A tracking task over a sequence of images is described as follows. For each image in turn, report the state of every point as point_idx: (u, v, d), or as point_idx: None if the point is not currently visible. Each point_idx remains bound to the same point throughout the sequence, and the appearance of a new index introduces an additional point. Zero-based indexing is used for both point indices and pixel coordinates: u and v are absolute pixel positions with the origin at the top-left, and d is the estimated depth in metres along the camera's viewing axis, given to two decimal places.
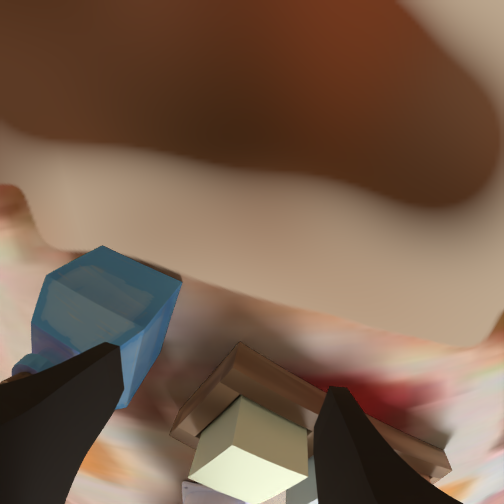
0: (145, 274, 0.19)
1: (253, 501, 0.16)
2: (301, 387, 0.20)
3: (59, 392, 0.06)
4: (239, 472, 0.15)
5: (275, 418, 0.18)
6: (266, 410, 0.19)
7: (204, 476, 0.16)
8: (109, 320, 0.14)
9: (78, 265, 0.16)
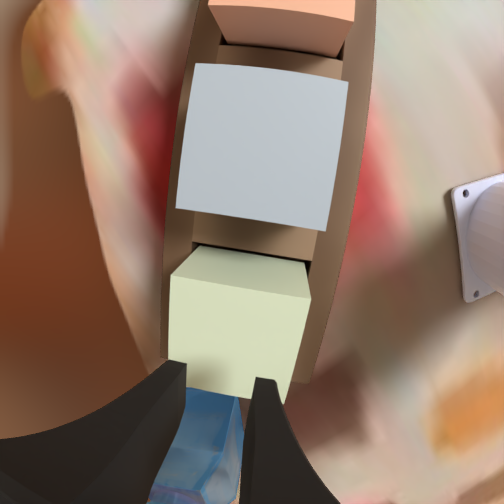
0: None
1: (296, 309, 0.12)
2: None
3: (142, 423, 0.06)
4: (218, 360, 0.13)
5: None
6: None
7: None
8: None
9: None
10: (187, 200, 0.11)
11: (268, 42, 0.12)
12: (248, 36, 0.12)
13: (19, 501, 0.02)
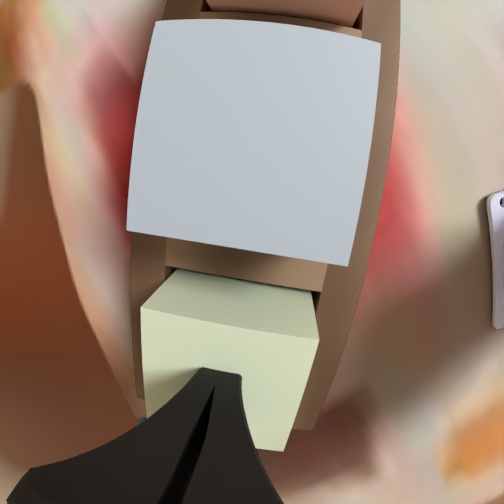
0: None
1: (299, 352, 0.09)
2: None
3: (188, 436, 0.06)
4: None
5: None
6: None
7: (257, 438, 0.10)
8: None
9: None
10: (141, 219, 0.07)
11: (264, 5, 0.09)
12: None
13: None
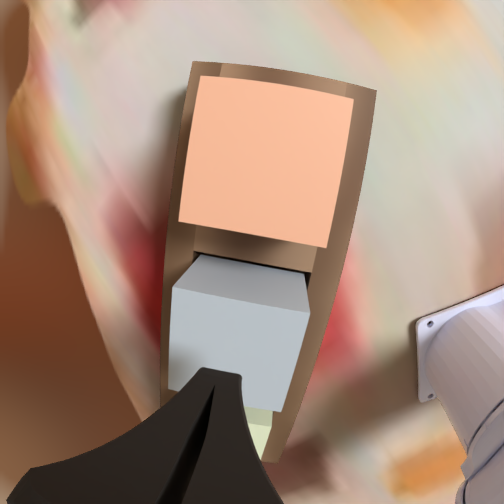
0: None
1: (261, 431, 0.16)
2: None
3: (188, 436, 0.06)
4: None
5: None
6: None
7: None
8: None
9: None
10: (176, 386, 0.13)
11: None
12: None
13: None
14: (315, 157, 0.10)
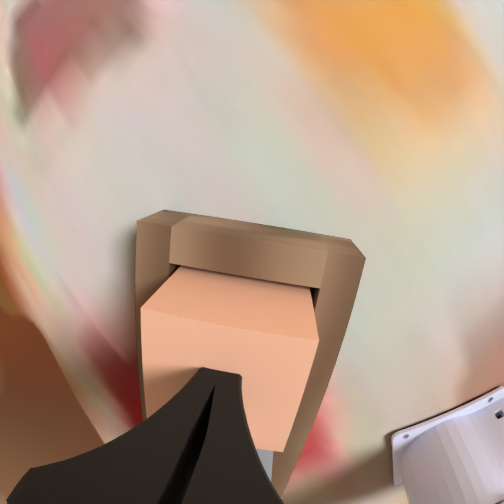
0: None
1: None
2: None
3: (188, 436, 0.06)
4: None
5: None
6: None
7: None
8: None
9: None
10: None
11: None
12: None
13: None
14: (271, 395, 0.10)
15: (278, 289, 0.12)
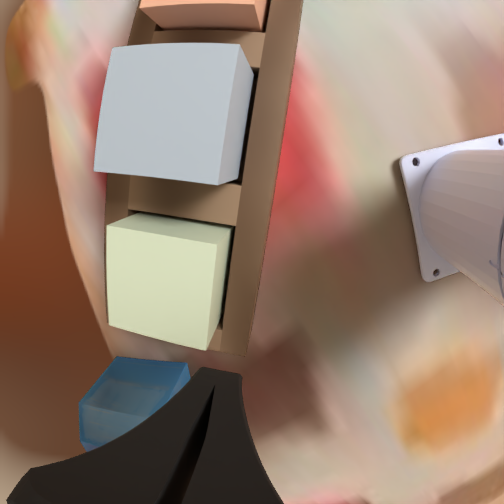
0: None
1: (204, 255, 0.13)
2: None
3: (188, 436, 0.06)
4: (146, 303, 0.14)
5: None
6: None
7: (185, 334, 0.15)
8: None
9: None
10: (102, 163, 0.11)
11: None
12: (183, 29, 0.14)
13: None
14: None
15: None
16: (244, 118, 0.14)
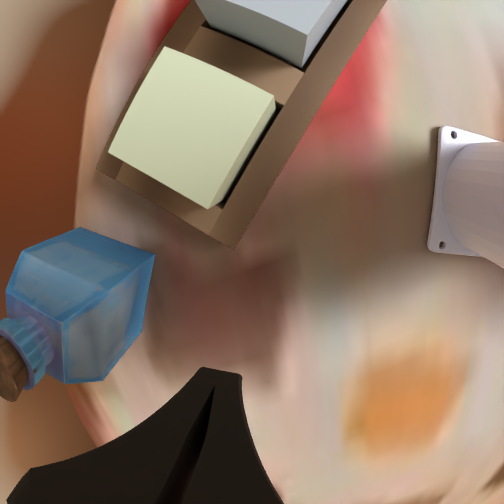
0: None
1: (256, 101, 0.12)
2: None
3: (188, 436, 0.06)
4: (166, 134, 0.12)
5: None
6: None
7: (192, 182, 0.13)
8: None
9: None
10: None
11: None
12: None
13: None
14: None
15: None
16: (329, 22, 0.12)
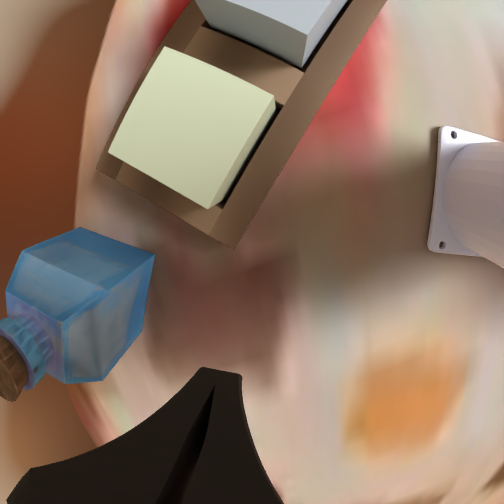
0: None
1: (256, 101, 0.12)
2: None
3: (188, 436, 0.06)
4: (166, 134, 0.12)
5: None
6: None
7: (192, 182, 0.13)
8: None
9: None
10: None
11: None
12: None
13: None
14: None
15: None
16: (329, 22, 0.12)
